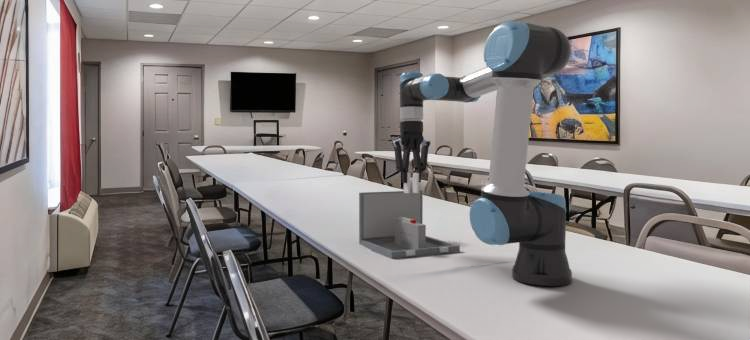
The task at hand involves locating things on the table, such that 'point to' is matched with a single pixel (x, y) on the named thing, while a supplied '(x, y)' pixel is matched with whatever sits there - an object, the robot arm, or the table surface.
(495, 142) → the robot arm
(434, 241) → the equipment case
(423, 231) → the cassette player
